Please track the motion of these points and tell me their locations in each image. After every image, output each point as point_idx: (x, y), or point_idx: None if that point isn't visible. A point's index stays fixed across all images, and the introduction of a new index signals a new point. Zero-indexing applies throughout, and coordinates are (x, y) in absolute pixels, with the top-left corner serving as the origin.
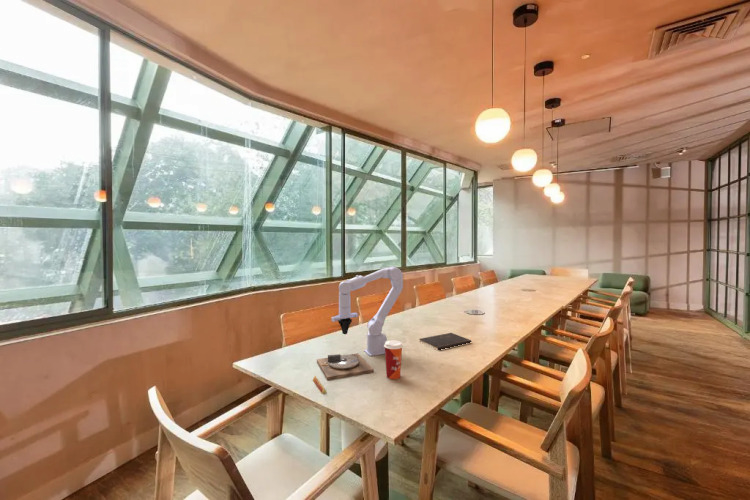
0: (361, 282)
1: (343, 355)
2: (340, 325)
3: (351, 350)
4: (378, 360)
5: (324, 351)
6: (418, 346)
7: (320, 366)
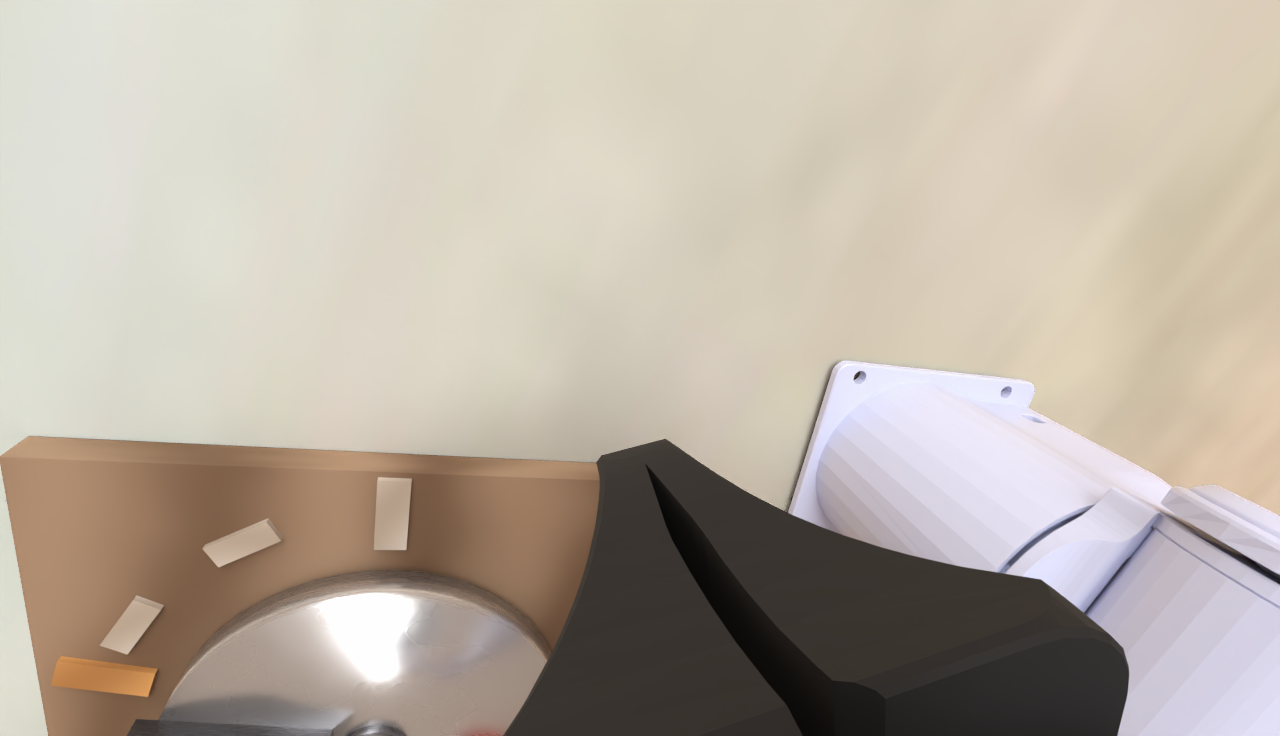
0: None
1: (430, 619)
2: (575, 622)
3: (714, 250)
4: None
5: (278, 29)
6: (1271, 486)
7: (44, 674)
